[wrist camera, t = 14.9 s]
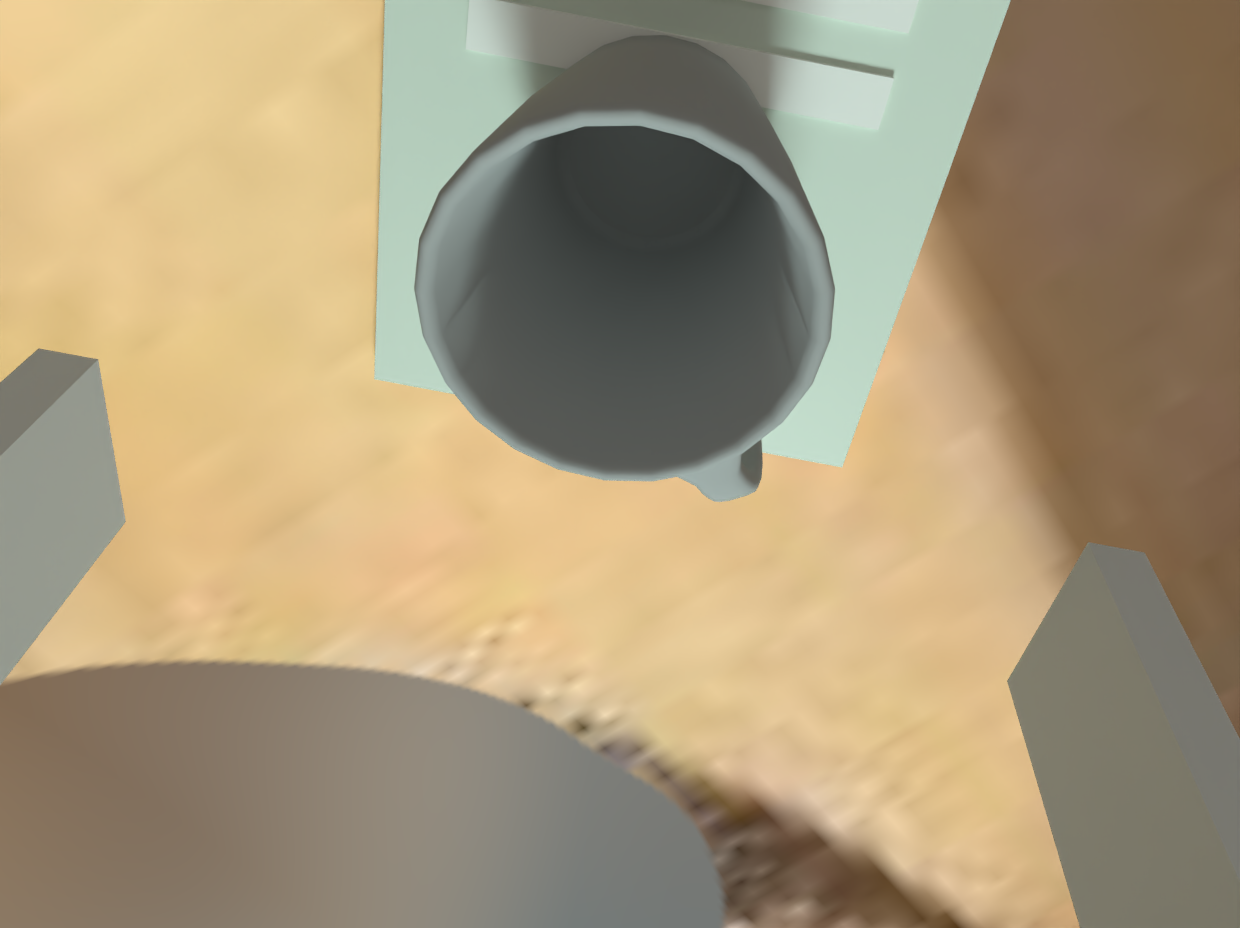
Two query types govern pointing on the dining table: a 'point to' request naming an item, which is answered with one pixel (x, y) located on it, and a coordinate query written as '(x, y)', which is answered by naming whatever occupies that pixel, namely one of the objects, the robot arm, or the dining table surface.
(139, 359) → the dining table surface
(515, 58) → the pad green
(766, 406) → the cup
